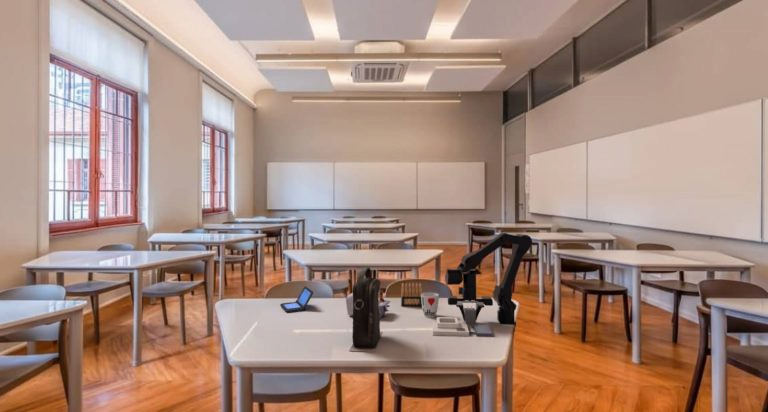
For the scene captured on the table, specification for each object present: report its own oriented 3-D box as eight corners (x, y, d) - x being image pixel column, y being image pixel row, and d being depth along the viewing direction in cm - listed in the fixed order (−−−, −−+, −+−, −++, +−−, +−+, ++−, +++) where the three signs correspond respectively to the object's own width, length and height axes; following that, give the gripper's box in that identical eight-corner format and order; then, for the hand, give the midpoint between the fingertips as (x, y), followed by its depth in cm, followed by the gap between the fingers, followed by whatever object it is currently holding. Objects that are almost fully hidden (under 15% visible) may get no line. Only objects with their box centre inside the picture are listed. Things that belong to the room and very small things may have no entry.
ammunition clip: (401, 306, 206) (400, 282, 205) (401, 305, 207) (401, 282, 207) (422, 306, 205) (422, 283, 205) (422, 306, 206) (422, 282, 206)
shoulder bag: (360, 331, 167) (360, 262, 166) (382, 332, 166) (382, 263, 165) (348, 351, 144) (348, 272, 144) (374, 352, 143) (373, 272, 143)
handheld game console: (279, 306, 209) (279, 288, 209) (305, 303, 214) (305, 285, 214) (286, 313, 195) (286, 294, 194) (313, 310, 200) (313, 291, 200)
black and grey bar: (475, 333, 163) (475, 331, 163) (476, 334, 162) (475, 332, 162) (468, 333, 163) (468, 330, 163) (468, 334, 162) (468, 331, 162)
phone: (488, 327, 171) (488, 324, 171) (493, 336, 159) (493, 333, 159) (473, 326, 171) (473, 324, 171) (476, 336, 159) (476, 333, 159)
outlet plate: (465, 325, 174) (465, 317, 174) (469, 336, 160) (469, 327, 160) (432, 324, 175) (432, 316, 175) (433, 335, 161) (433, 326, 161)
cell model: (349, 288, 198) (390, 290, 195) (349, 311, 198) (390, 313, 195) (344, 294, 185) (388, 296, 182) (343, 318, 185) (387, 320, 182)
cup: (418, 317, 186) (418, 295, 186) (425, 312, 194) (425, 291, 194) (435, 319, 183) (435, 297, 183) (441, 314, 190) (441, 293, 190)
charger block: (474, 321, 178) (474, 305, 178) (475, 325, 174) (475, 308, 174) (464, 321, 179) (464, 305, 179) (465, 324, 174) (464, 307, 174)
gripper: (488, 281, 183) (489, 315, 184) (446, 280, 185) (447, 314, 185) (492, 286, 172) (493, 323, 172) (448, 285, 174) (448, 322, 174)
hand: (469, 320), depth 176 cm, fingers closed on charger block, 4 cm apart
